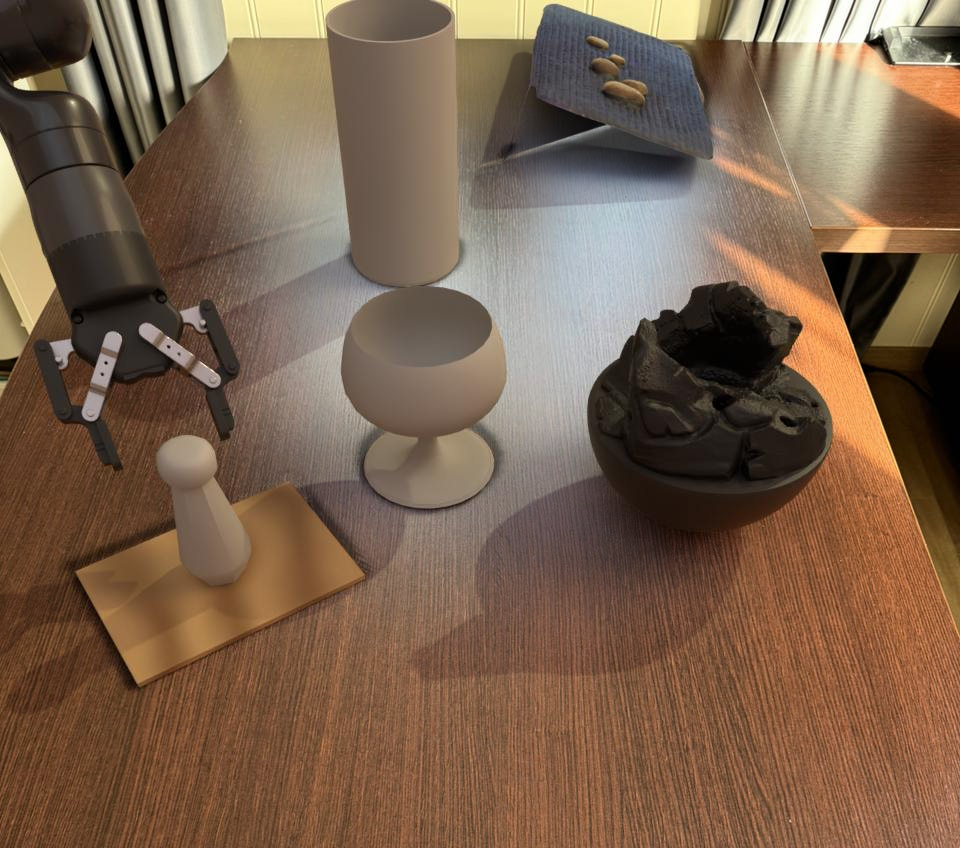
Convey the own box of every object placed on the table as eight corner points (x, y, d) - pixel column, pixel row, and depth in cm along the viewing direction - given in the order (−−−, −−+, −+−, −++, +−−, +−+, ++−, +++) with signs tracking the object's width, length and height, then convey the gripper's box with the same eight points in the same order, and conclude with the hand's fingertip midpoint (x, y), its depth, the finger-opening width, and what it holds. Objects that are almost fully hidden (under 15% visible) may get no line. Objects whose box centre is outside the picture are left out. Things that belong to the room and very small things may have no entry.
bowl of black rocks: (808, 451, 88) (874, 266, 73) (790, 604, 76) (865, 421, 62) (602, 413, 92) (626, 229, 77) (554, 554, 80) (571, 369, 65)
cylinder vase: (459, 290, 105) (454, 42, 85) (349, 290, 105) (319, 42, 85) (459, 233, 113) (455, -6, 93) (357, 233, 113) (331, -6, 93)
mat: (512, 62, 151) (535, -19, 142) (668, 117, 155) (699, 42, 147) (501, 175, 121) (529, 81, 112) (694, 239, 125) (734, 153, 117)
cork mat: (139, 688, 71) (136, 683, 71) (77, 575, 78) (74, 571, 78) (365, 579, 78) (365, 574, 78) (289, 485, 85) (288, 480, 85)
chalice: (338, 510, 83) (316, 368, 71) (371, 412, 92) (356, 271, 80) (493, 526, 82) (496, 385, 70) (512, 425, 90) (517, 284, 79)
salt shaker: (269, 555, 79) (238, 435, 69) (232, 602, 76) (193, 483, 65) (211, 536, 80) (172, 414, 70) (172, 581, 77) (125, 461, 67)
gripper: (-11, 252, 65) (76, 475, 67) (189, 208, 69) (264, 421, 71) (7, 284, 72) (86, 485, 75) (188, 242, 76) (256, 435, 78)
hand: (173, 454), depth 73 cm, fingers open, 8 cm apart
